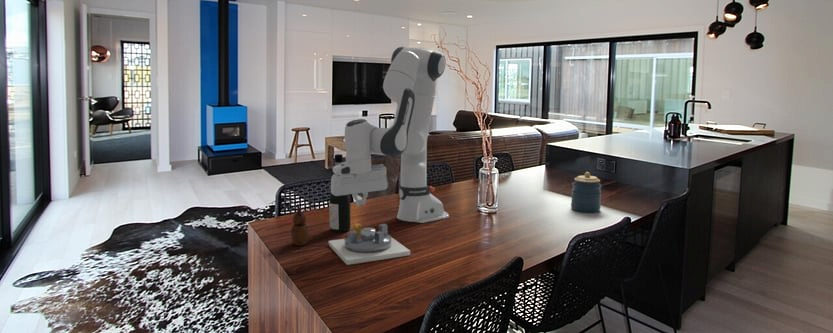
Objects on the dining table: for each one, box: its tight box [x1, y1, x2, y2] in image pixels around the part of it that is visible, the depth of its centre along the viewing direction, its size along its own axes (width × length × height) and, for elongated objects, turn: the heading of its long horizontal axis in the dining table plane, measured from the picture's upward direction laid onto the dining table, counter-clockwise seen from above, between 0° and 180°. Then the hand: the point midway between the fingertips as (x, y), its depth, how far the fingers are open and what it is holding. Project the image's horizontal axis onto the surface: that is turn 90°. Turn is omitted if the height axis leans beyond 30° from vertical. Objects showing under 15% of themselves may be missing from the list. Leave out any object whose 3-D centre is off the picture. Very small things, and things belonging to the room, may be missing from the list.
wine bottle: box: [328, 153, 351, 233], centre depth 192 cm, size 8×8×30 cm
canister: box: [570, 171, 603, 214], centre depth 226 cm, size 13×13×18 cm
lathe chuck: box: [344, 222, 392, 253], centre depth 170 cm, size 16×16×6 cm
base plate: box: [328, 236, 411, 266], centre depth 171 cm, size 22×22×2 cm
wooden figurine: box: [290, 202, 309, 247], centre depth 176 cm, size 7×6×15 cm
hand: (360, 205), depth 175 cm, fingers closed
